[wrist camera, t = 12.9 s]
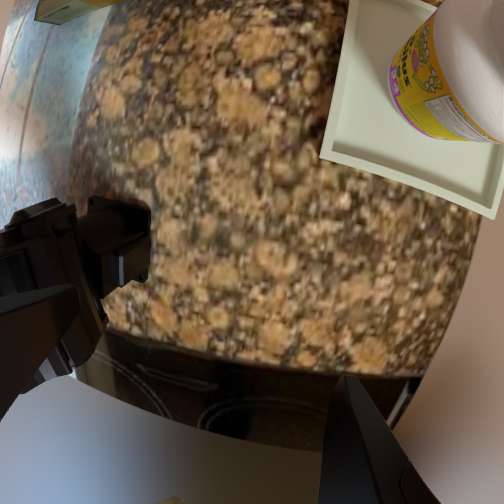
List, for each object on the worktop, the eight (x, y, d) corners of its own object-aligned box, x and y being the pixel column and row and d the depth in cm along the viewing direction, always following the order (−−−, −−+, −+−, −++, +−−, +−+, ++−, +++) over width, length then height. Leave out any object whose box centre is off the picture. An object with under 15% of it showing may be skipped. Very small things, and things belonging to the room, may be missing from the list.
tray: (319, 156, 18) (319, 157, 16) (351, -11, 13) (353, -22, 11) (483, 214, 16) (494, 220, 15) (508, 59, 11) (518, 55, 10)
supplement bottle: (409, 28, 12) (496, -73, 1) (484, 90, 13) (616, 70, 1) (366, 98, 15) (453, 22, 3) (445, 161, 15) (590, 204, 4)
